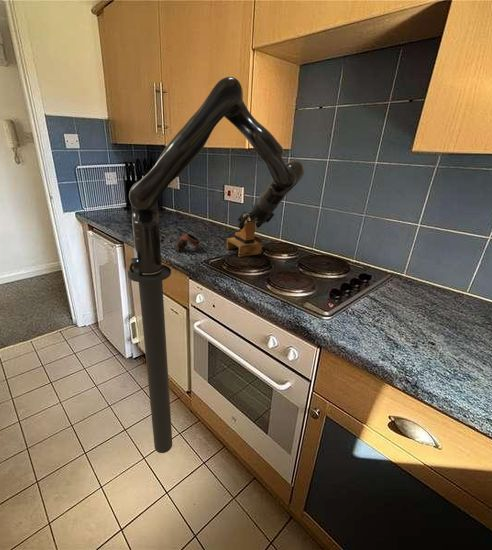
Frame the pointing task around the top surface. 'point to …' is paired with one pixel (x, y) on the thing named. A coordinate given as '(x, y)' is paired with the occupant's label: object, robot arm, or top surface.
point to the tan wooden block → (246, 246)
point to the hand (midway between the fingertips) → (248, 227)
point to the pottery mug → (184, 241)
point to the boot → (246, 233)
